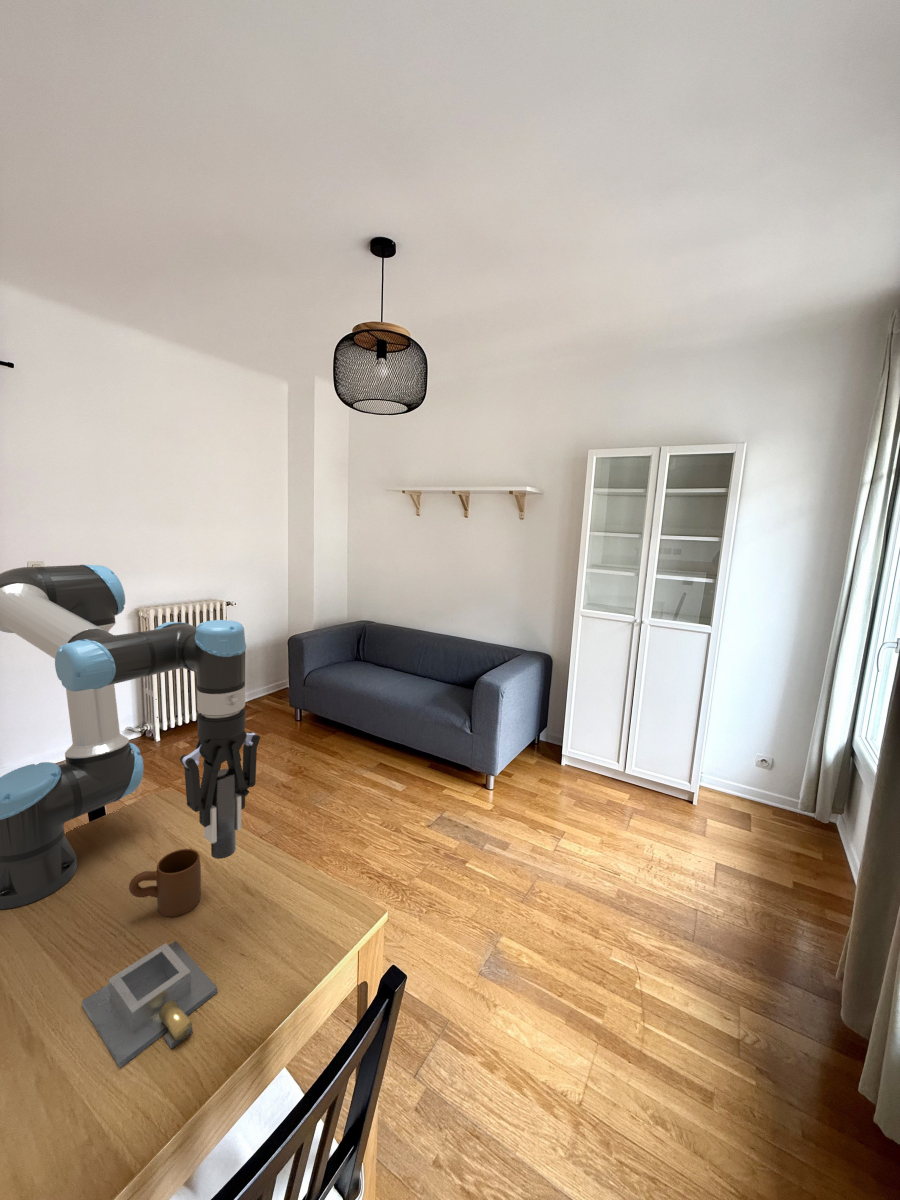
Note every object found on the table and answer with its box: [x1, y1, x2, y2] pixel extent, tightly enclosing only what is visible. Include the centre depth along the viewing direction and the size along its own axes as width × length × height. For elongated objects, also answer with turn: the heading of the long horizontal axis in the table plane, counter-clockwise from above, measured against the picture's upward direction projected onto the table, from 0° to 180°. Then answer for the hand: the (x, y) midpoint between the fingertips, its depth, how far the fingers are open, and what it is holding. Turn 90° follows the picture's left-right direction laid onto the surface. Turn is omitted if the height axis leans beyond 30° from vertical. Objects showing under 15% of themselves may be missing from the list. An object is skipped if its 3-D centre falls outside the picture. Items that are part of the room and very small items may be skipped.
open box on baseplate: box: [81, 940, 218, 1069], centre depth 75 cm, size 18×14×4 cm
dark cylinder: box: [210, 768, 237, 860], centre depth 85 cm, size 4×4×15 cm
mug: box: [128, 848, 202, 918], centre depth 93 cm, size 12×8×9 cm, turn 125°
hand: (223, 832), depth 86 cm, fingers closed on dark cylinder, 4 cm apart
